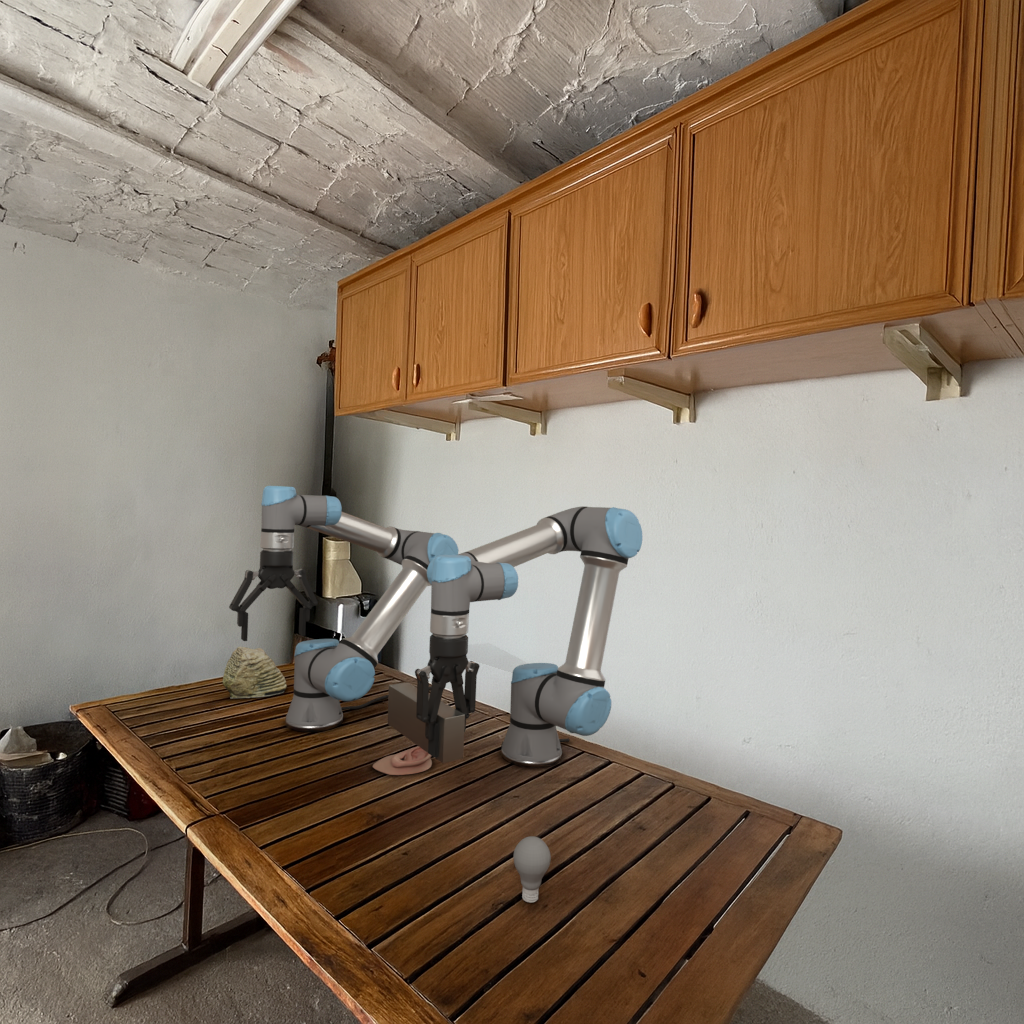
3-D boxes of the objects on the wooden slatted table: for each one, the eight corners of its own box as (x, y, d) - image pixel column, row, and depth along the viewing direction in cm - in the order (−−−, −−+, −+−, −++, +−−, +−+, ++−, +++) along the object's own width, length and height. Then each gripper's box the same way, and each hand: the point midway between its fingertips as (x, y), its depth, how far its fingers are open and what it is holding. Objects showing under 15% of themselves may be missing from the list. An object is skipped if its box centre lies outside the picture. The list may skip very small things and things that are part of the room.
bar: (387, 723, 140) (388, 685, 140) (406, 720, 143) (407, 682, 143) (442, 763, 121) (444, 718, 120) (463, 758, 123) (465, 714, 123)
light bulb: (510, 888, 105) (512, 829, 104) (546, 888, 105) (548, 829, 105) (513, 912, 99) (515, 849, 98) (551, 912, 99) (554, 849, 99)
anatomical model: (367, 754, 146) (387, 737, 157) (366, 771, 146) (386, 752, 158) (422, 762, 144) (438, 743, 155) (421, 779, 144) (437, 759, 155)
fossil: (218, 695, 195) (220, 647, 195) (278, 685, 208) (279, 640, 207) (228, 703, 189) (230, 653, 188) (289, 692, 201) (290, 645, 201)
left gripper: (225, 551, 142) (221, 645, 143) (333, 550, 157) (329, 635, 158) (217, 548, 148) (214, 639, 149) (322, 547, 163) (319, 629, 164)
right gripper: (417, 643, 116) (413, 769, 116) (497, 633, 126) (492, 749, 127) (399, 634, 122) (395, 755, 122) (476, 626, 132) (472, 737, 133)
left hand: (273, 637), depth 153 cm, fingers open, 13 cm apart
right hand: (444, 751), depth 125 cm, fingers closed on bar, 5 cm apart
